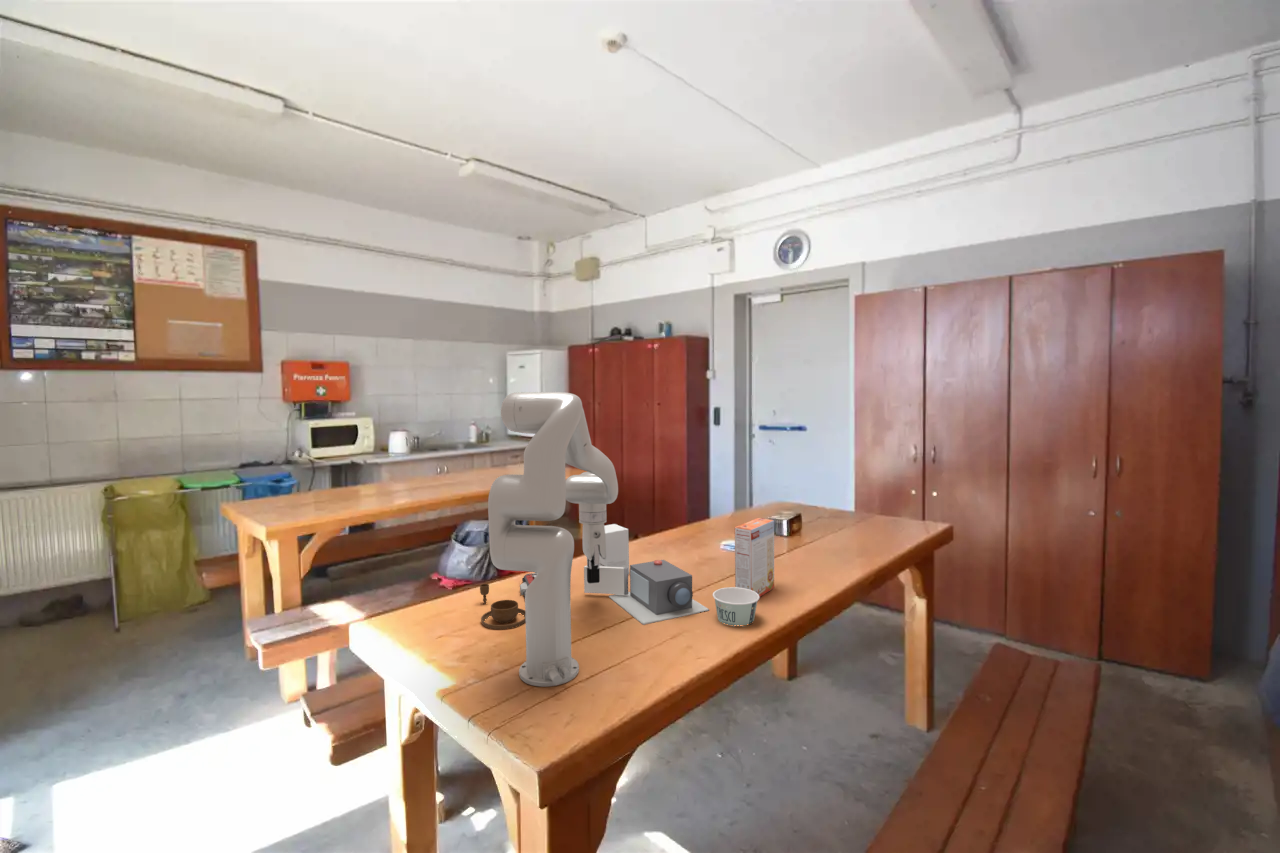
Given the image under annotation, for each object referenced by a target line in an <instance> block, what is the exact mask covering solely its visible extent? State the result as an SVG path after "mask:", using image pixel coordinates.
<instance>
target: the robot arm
mask: <svg viewBox="0 0 1280 853" xmlns="http://www.w3.org/2000/svg"><path fill="white" fill-rule="evenodd" d="M500 415H501V421H502V422H503V424H504V426H505V428H507V429H508V430H510V431H511V432H514V433H519V434H527V435H528V434H529V435H533V434H534V435H533V436H532V437H531V439H530V440H529V441H528V443H527V445H526V447H525V449H524V451H523V474H503V475H500V476H498V477H496V479H494V480H493V482H492V484H491V486H490V490H489V492H488V500H487V502H488V504H487V506H488V507H487V512H488V537H489V542H488V543H489V554H490V555H489V556H490V559H491V562H492V564H493V566H494V567H495V568H496V569H498V570H502V571H511V572H514V571H515V572H529V573H536V574H537V575H536V577H535V579H534V580H533V581H532V582H531V583H530V584H529V586H528V588H527V590H526V593H525V596H524V607H525V609H524V610H525V617H524V618H525V620H526V622H525V655H526V656H525V657H526V658H525V661H524V662H523V663H522V664H521V665H520V666H519V669H518V674H519V675H518V676H519V678H520V680H521V681H523V683H525V684H527V685H531V686H534V687H543V688H544V687H555V686H556V687H557V686H560V685H563V684H566V683H568V682H570V681H572V680H573V679H574V678H576V676H577V675H578V674H579V672H580V665H579V662H578V661H577V660H576V659H575V658H574V657H572V620H571V618H572V615H571V614H572V612H571V611H572V610H571V600H572V599H571V581H572V580H571V578H572V577H571V576H572V566H573V559H574V552H575V540H574V536H573V535H572V533H571V531H569V530H568V529H566V528H564V527H561V526H553V525H534V524H533V525H526V524H525V525H523V524H516V521H529V522H531V521H532V522H534V521H536V522H537V521H538V522H551V521H555V520H558V519H560V518H561V517H562V516H563V515H564V514H565V511H566V503H567V502H569V503H572V504H578V514H579V516H578V519H579V520H578V523H579V524H582V551H583V554H584V555H585V557H586V566H587V567H589V568H587V582H588V583H599V581H600V574H599V562H600V556H601V557H602V558H603V559H606V539H605V527H604V526H605V523H607V505H608V504H609V505H610V504H612V503H614V502H615V501H616V500H617V498H618V495H619V483H618V478H617V474H616V469H615V466H614V463H613V462H612V460H610V459H609V457H608V456H607V455H605V453H603V452H602V451H601V450H600V449H599V448H597V447H595V446H594V445H592V440H591V436H590V431H589V428H588V422H587V419H586V413H585V410H584V407H583V402H582V399H581V398H580V397H579V396H578V395H576V394H574V393H570V392H566V391H565V392H564V391H563V392H562V391H539V392H538V391H537V392H536V391H535V392H534V391H533V392H531V391H529V392H526V391H524V392H523V391H521V392H518V391H517V392H510V393H509V394H507V395H505V398H503V401H502V403H501V407H500ZM566 464H567V465H568V466H571V467H574V468H576V469H577V470H578V469H579V470H581V471H584V472H582V473H580V474H572V475H570V476H569V477H567V478H566ZM566 501H567V502H566Z"/></svg>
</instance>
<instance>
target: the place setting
mask: <svg viewBox="0 0 1280 853" xmlns="http://www.w3.org/2000/svg"><path fill="white" fill-rule="evenodd" d="M489 591H490V584H489V583H481V584H480V585H479V592H480V595H482V596H483V597H482V601H483V603H482V605H487V604H486V603H487V601H488V599H487V595H488V594H489ZM518 613H521V614H522V615H524V616H523V619H522V620H519V621H517V622H513V620H514V619H516V617H518V615H519V614H518ZM522 615H521V616H522ZM489 616H491V618H492V619H493V621H496V622H497V623H498V622H499V623H498V624H492V623H488V622H486V620H487V619H489V618H490V617H489ZM488 617H489V618H488ZM485 619H486V620H485ZM480 620H481V622H480V623H482V626H484V627H485V628H488V629H490V628H491V629H490V630H508V629H507V628H510V629H513V628H512V627H514V628H517V627H519V625H520V626H522V625H524V624H526V620H525V609H523V608H519V603H518V602H517V601H516V600H512V599H501V600H498V601H495V602H493V603H491V604H490V610H489V611H487V612H485V613H484V614H482V616H481V617H480ZM484 621H485V622H484ZM510 621H511V622H513V623H511V622H510ZM507 622H509V624H508V623H507ZM516 626H517V627H516Z"/></svg>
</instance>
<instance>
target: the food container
mask: <svg viewBox="0 0 1280 853" xmlns="http://www.w3.org/2000/svg"><path fill="white" fill-rule="evenodd" d="M712 598H713V599H714V603H715V609H716V615H717V620H718V622H719V623H721V622H722V623H721V624H723V623H725V624H728V625H733V626H732V627H735V626H734V625H736V626H737V625H739V626H740V625H747V624H750V623H752V622H753V621H754V622H755V615H756V611H757V606H758V601H759V600H760V599H761V597H759V595H758V594H757V593H756V592H754V591H752V590H749V589H745V588H738V587H735V586H731V587H730V586H729V587H721V588H719V589H716V590H715V591H713V592H712ZM754 622H753V623H754ZM753 623H752V624H753ZM725 624H724V625H725ZM728 625H727V626H728ZM750 625H751V624H750Z"/></svg>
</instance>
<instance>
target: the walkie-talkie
mask: <svg viewBox="0 0 1280 853" xmlns="http://www.w3.org/2000/svg"><path fill="white" fill-rule="evenodd" d="M536 575H537V574H536V573H535V572H530V573H526V574H525V575H523V577H522V583H521V584H519V592H520V596H521V595H524V597H525V593H526V590H527V588H528V586H529V584H530V583H531V582H532V581H533V580H534V579H535V577H536Z"/></svg>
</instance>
